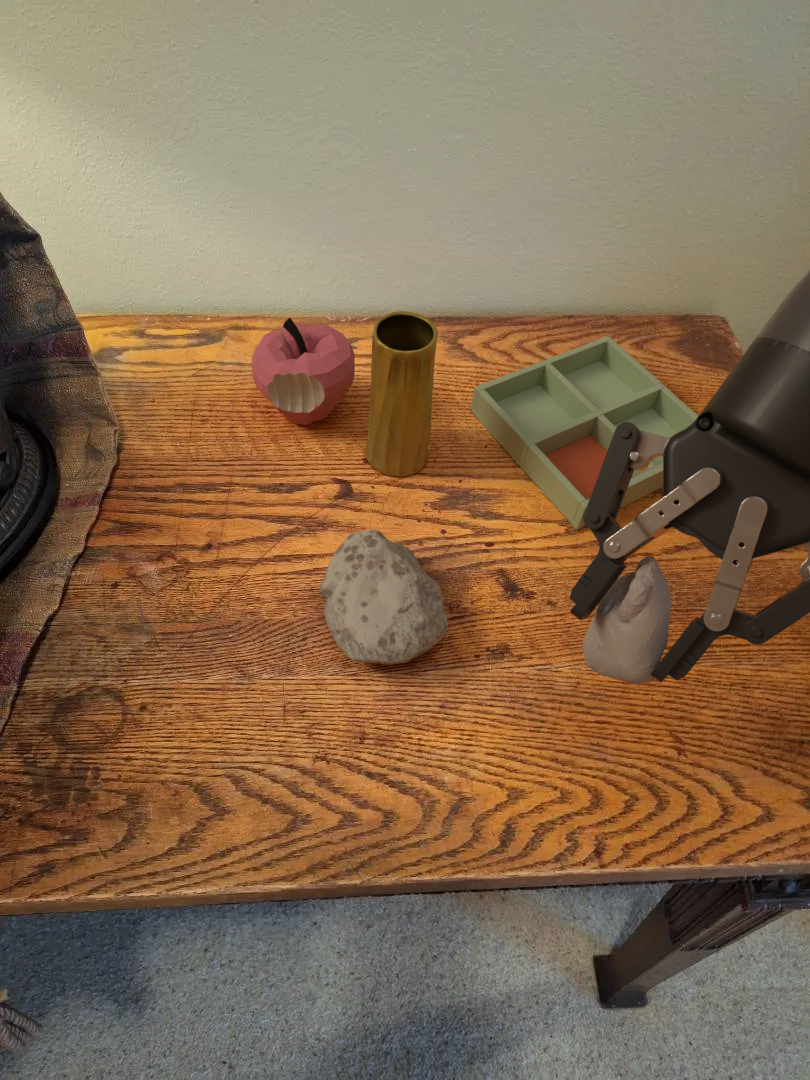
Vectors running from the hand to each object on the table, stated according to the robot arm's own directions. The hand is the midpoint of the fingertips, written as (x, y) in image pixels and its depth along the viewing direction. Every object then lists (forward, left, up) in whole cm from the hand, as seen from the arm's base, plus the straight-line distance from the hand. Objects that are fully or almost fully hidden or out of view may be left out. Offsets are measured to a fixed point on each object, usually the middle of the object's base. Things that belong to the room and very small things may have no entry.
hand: (618, 644), depth 40 cm
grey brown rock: (+1, -2, -6) cm, 7 cm away
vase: (+30, -5, -17) cm, 35 cm away
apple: (+39, 0, -17) cm, 43 cm away
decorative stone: (+16, +5, -17) cm, 24 cm away
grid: (+23, -23, -16) cm, 37 cm away
